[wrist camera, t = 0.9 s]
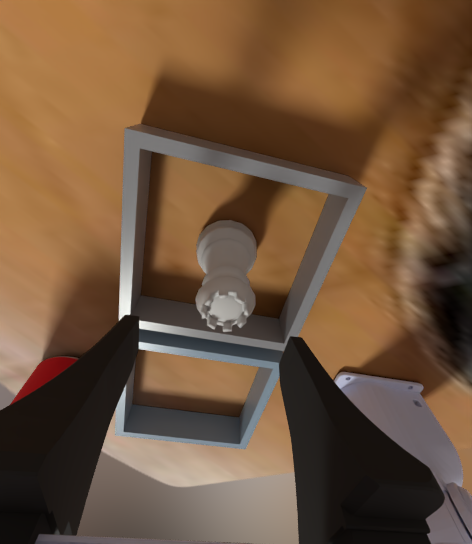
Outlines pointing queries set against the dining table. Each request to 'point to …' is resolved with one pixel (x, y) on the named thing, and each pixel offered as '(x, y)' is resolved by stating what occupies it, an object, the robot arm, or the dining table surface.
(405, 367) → the dining table surface
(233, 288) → the rook chess piece
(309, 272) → the charcoal bin
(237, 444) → the slate bin
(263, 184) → the dining table surface
